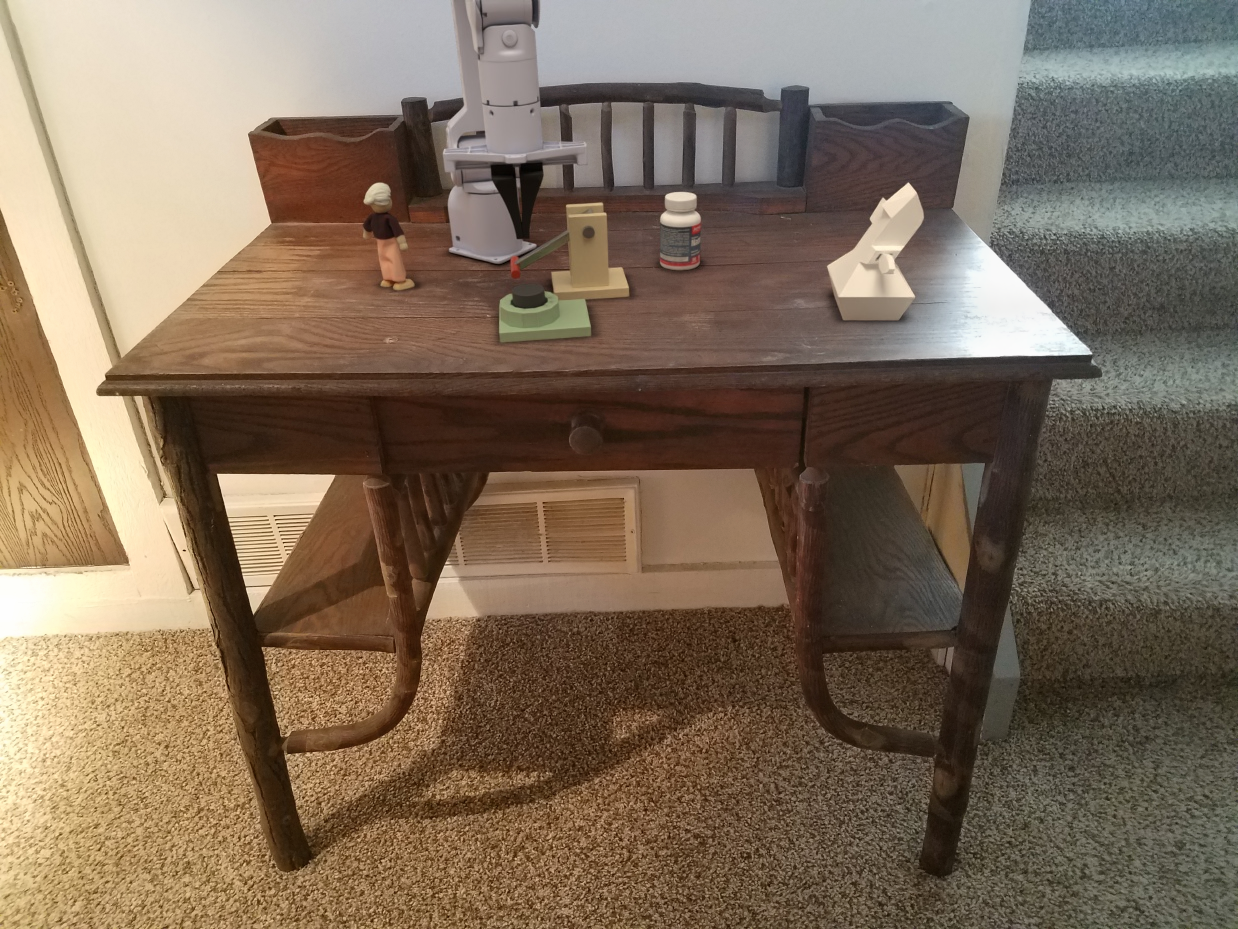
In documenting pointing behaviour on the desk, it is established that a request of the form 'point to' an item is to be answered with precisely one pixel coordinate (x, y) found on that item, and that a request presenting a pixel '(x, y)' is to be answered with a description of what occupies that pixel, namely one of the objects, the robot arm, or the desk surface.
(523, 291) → the button
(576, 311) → the button box
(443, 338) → the desk surface
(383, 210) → the grandmother figurine
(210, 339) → the desk surface
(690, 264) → the pill bottle
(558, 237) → the lever
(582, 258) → the bracket
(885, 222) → the beige angled stand
